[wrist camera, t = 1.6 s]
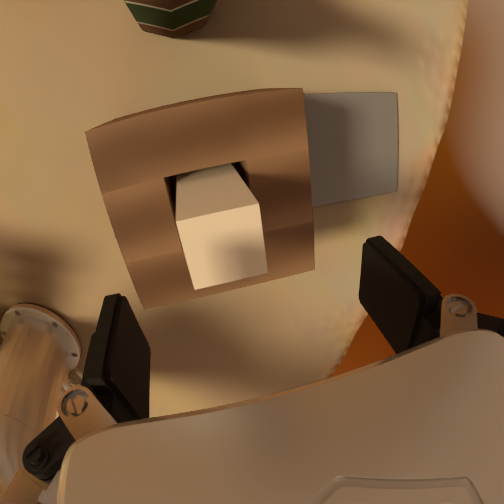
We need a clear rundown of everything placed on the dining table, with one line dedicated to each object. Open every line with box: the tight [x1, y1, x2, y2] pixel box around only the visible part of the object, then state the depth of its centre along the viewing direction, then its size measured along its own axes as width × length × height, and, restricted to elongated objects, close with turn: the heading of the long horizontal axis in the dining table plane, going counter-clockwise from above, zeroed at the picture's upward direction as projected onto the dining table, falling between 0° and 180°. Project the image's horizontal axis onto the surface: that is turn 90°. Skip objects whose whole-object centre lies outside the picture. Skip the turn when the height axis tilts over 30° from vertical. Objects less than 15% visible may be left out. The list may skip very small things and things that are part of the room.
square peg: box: [176, 163, 268, 290], centre depth 21 cm, size 4×4×12 cm
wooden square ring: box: [85, 88, 315, 309], centre depth 25 cm, size 14×14×10 cm
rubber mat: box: [303, 92, 398, 207], centre depth 31 cm, size 12×12×1 cm
